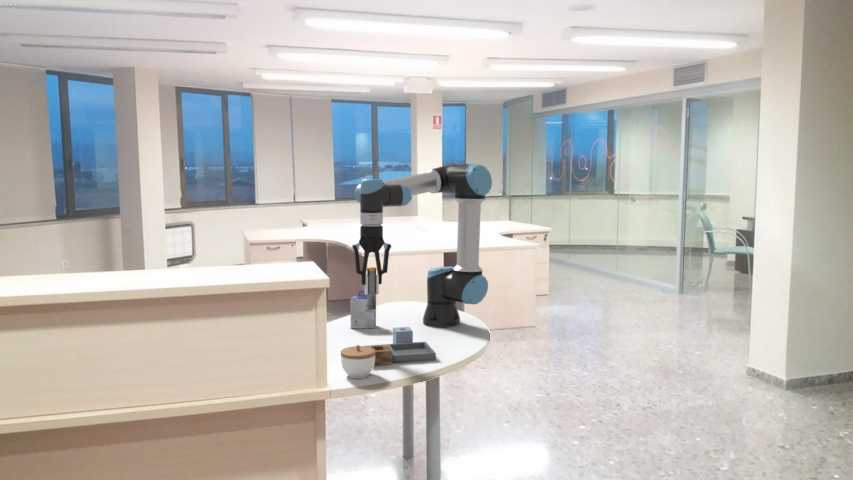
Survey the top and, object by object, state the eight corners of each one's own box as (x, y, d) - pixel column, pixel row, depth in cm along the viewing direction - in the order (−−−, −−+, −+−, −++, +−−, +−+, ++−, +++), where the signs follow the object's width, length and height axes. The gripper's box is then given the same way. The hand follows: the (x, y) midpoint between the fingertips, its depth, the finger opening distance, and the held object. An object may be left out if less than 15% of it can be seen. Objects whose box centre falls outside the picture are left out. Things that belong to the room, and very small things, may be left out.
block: (409, 342, 237) (409, 326, 236) (412, 347, 231) (412, 330, 231) (392, 343, 236) (392, 327, 235) (396, 348, 230) (396, 331, 229)
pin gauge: (375, 307, 223) (375, 267, 221) (376, 309, 220) (376, 268, 218) (366, 307, 222) (366, 267, 221) (367, 309, 219) (367, 268, 218)
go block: (387, 357, 219) (387, 344, 218) (391, 364, 211) (391, 350, 211) (363, 358, 217) (363, 345, 217) (367, 366, 209) (367, 352, 209)
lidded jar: (377, 369, 206) (377, 340, 205) (374, 381, 195) (373, 350, 194) (343, 369, 206) (343, 340, 205) (338, 380, 196) (338, 350, 194)
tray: (425, 348, 229) (425, 341, 229) (435, 360, 216) (435, 352, 215) (386, 351, 226) (386, 344, 226) (394, 363, 212) (394, 355, 212)
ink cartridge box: (376, 325, 262) (376, 290, 260) (375, 328, 256) (375, 292, 255) (351, 325, 262) (351, 290, 260) (350, 328, 256) (350, 292, 254)
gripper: (348, 226, 213) (349, 296, 215) (397, 225, 216) (396, 295, 219) (346, 224, 220) (347, 292, 223) (393, 223, 223) (393, 290, 226)
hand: (371, 293), depth 221 cm, fingers closed on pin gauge, 3 cm apart
